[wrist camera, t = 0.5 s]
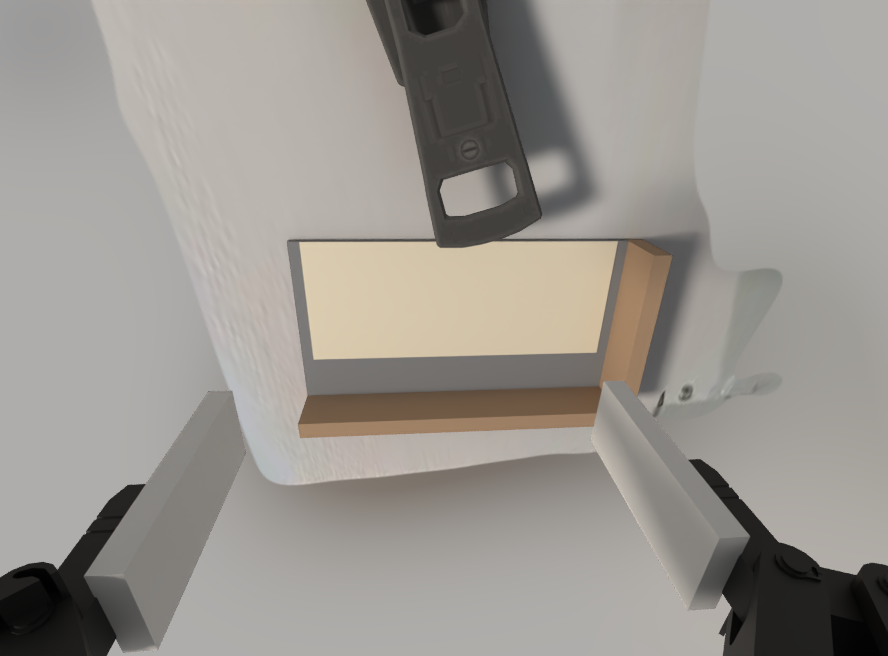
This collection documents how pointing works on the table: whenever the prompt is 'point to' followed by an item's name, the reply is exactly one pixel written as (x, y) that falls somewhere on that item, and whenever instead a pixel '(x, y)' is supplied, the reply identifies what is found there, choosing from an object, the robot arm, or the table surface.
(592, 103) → the table surface
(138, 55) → the table surface
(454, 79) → the zipper pull
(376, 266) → the tray
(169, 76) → the table surface
